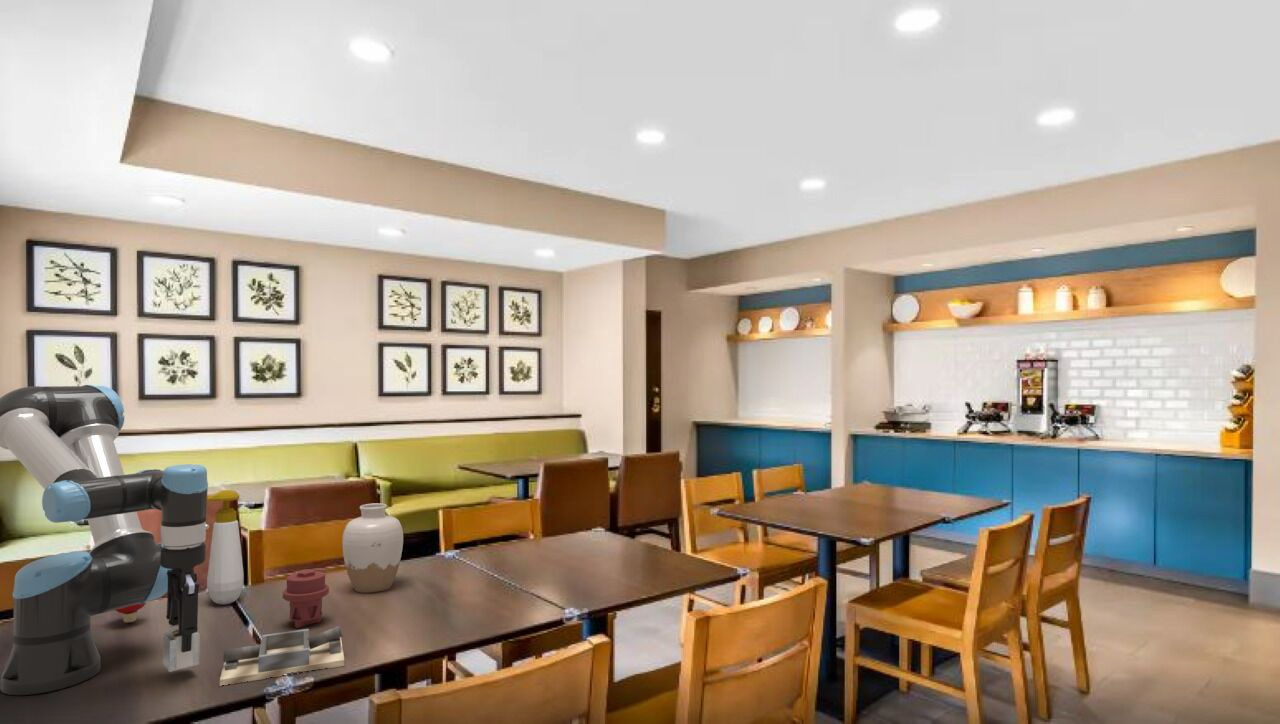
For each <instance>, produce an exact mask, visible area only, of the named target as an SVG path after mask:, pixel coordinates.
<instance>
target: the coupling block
mask: <svg viewBox="0 0 1280 724" xmlns="http://www.w3.org/2000/svg"><path fill="white" fill-rule="evenodd" d="M178 632H179V629H176V630H174V631H172V632H164V633H163V652H162V656H163V657H162V664H163V665H164V667H165V668H166V669H167V671H168V672H169V673H172V672H174V671H179V670H183V669H186V668H191V667H194V666H197V665H198V666H199V665H200V643H201V642H200V639H201V637H200V636H201V635H200V633H199V632H198V631H197V632H196V633H194V644H193V666H189V667H185V668H181V669H176V645H177V637H175V636H174V634H176V633H178Z"/></svg>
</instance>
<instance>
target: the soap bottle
mask: <svg viewBox="0 0 1280 724" xmlns="http://www.w3.org/2000/svg"><path fill="white" fill-rule="evenodd" d="M239 499H240V495H239V494H238V492H237V491H234V490H231V489H224V490H220V491H218V492H216V493H213V494H212V495H210V496H207V502H222V508H221V509H217V511H216V512H215V518H214V519H215V522H213V525H212V526H213V527H212V535H211V544H210V553H209V561H208V569H207V579H206V585H207V586H206V588H207V592H208V594H209V595H208V596H209V597H210V599H211V600H212V601H213V602H214V603H215V604H217V605H223V606H224V605H229V604H230V605H231V604H233V603H234V602H236V601H237V600H238V599H239V597H240V596H241V594H242V591H243V586H244V578H245V577H244V575H245V574H244V567H243V556H242V546H241V538H240V529H239V521H238V519H237V510H235V508H233V507H232V508H231V507H230V502H231V501H235V500H239Z"/></svg>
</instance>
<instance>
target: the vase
mask: <svg viewBox="0 0 1280 724" xmlns="http://www.w3.org/2000/svg"><path fill="white" fill-rule="evenodd" d="M387 507H388V505H387V504H386V503H381V502H380V503H375V502H374V503H373V502H372V503H366V504H361V505H360V506H359V509H360V510H359V511H360V512H361V513H360V514H361V516H359V517H356V518H354V519H352V520H350V521H348V522H347V524H346V525H345V528H344V530H343V533H342V554H343V560H344V565H345V570H346V572H347V575H348V578H349V581H350V584H351V586H352V587H353V588H352V589H353V590H354V591H355V592H357V593H362V594H370V593H371V594H372V593H379V592H384V591H386V590H388V589H390V588H391V587H392V586H393V583H394V581H395V578H396V575H397V573H398V570H399V566H400V564H401V558H402V552H403V545H404V531H403V527H402V524H401V522H400V520H399V519H398V518H397V517H394V516H392V515H387V514H386V509H387Z"/></svg>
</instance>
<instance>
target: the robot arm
mask: <svg viewBox="0 0 1280 724" xmlns="http://www.w3.org/2000/svg"><path fill="white" fill-rule="evenodd" d="M124 413H125V408H124V405H123V402H122V400H121V398H120V396H119V395H118V393H117V392H116V391H115V390H113V389H112V388H111V387H110V388H109V387H108V386H104V385H103V386H102V385H91V384H84V385H75V386H74V385H71V386H68V385H67V386H66V385H65V386H64V385H63V386H61V385H59V386H57V385H56V386H54V385H51V386H48V385H47V386H45V385H44V386H38V385H37V386H35V385H34V386H32V385H31V386H26V387H20V388H17V389H14V390H11V391H9V392H7V393H6V394H4V395H3V396H1V397H0V448H3V449H4V450H9V451H10V452H11V454H13V456H15V457H16V459H17V460H18V461H19V462H20V463H21V464H22V465H23V467H24V468H25V469H26V470H27V471H28V473H30V475H31V476H32V477H33V478H34V479H35V480H36V482H37V483H38V484H40V486H41V487H42V488H43V490H44V491H43V493H42V499H41V502H42V503H41V505H42V510H43V511H44V516H45V518H46V519H47V520H48V521H49V522H52V523H55V524H58V523H69V522H72V523H73V522H75V523H77V522H80V521H84V520H85V521H86V520H87V522H88V525H89V529H90V533H91V536H92V539H93V543H94V545H93V547H92V548H91V550H90V551H89V552H88V551H83V550H79V551H78V550H76V551H70V552H66V553H64V552H62V553H59V554H53V555H48V556H46V557H42V558H38V559H36V560H33V561H32V562H29V563H27V564H26V565H24V566H22V567H21V568H19V569H18V571H17V572H16V574H15V576H14V585H13V591H12V598H13V624H12V625H13V631H12V632H13V635H12V636H13V637H12V639H13V640H12V643H13V644H12V648H11V651H10V654H9V656H8V658H7V661H6V663H5V666H4V668H3V672H2V674H1V676H0V692H1V693H3V694H5V695H9V696H10V695H11V696H27V695H37V694H43V693H48V692H49V693H50V692H54V691H59V690H62V689H66V688H68V687H72V686H75V685H78V684H81V683H83V682H85V681H88V680H89V679H91V678H93V677H94V676H96V675H97V674H98V673H99V672H100V671H101V666H102V665H101V663H102V662H101V660H102V659H101V655H100V652H99V650H98V648H97V645H96V644H95V641H94V638H93V636H92V633H91V617H93V616H96V615H100V614H105V613H108V612H112V611H116V610H117V609H121V608H125V607H129V606H133V605H137V604H144V603H145V602H146V603H147V602H150V601H153V600H156V599H157V600H158V599H160V598H161V597H163V596H164V595H165V594H166V593H167V597H166V598H167V600H166V603H167V604H166V619H167V620H168V625H169V629H168V630H169V632H172V631H174V630H176V629H179V632H178V633H176V634H174V636H175V637H177V645H176V669H179V670H182V669H181V668H183V669H186V668H185V667H187V668H190V667H189V666H191V667H194V666H193V644H194V633H196V632H198V620H199V619H198V617H199V616H198V614H199V613H198V609H199V589H200V583H199V581H197V580H198V576H197V573H195V567H197V566H200V565H202V564H204V563H205V561H206V558H207V557H206V556H207V555H206V553H207V551H206V549H207V545H206V543H204V542H205V541H206V540H207V539H206V536H207V533H206V530H209V528H210V525H209V524H207V513H208V512H207V511H208V501H207V497H208V491H209V489H208V488H209V482H208V470H207V468H206V467H205V466H204V465H200V464H175V465H170V466H167V467H165V468H164V469H163V470H161V469H157V468H155V469H142V470H139V471H137V472H136V473H128V474H125V472H124V470H123V466H122V463H121V461H120V457H119V454H118V451H117V447H116V445H115V442H114V441H115V440H116V439H117V438H118V436H119V434H120V431H121V430H122V428H123V427H124V423H125V415H124ZM149 510H158V511H161V524H160V542H159V543H156V539H155V536H154V533H152V532H151V531H148V530H144V529H143V527H142V525H141V521H140V518H139V515H138V512H141V511H142V512H143V511H149Z"/></svg>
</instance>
